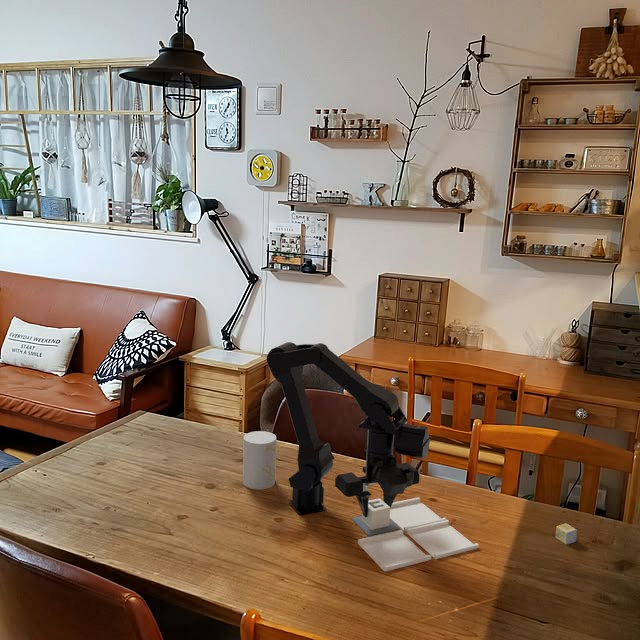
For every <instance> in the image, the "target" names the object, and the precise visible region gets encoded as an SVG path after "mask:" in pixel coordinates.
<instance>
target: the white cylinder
mask: <svg viewBox="0 0 640 640" xmlns="http://www.w3.org/2000/svg"><path fill="white" fill-rule="evenodd" d="M242 444H243V445H242V448H243V449H242V451H243V452H242V484H243V486H245V487H246V488H248V489H250V490H251V489H252V490H267V489H270V488H272V487H273V486H274V485H275V484H276V468H277V467H276V465H277V464H276V463H277V462H276V461H277V457H276V456H277V436H276V435H275V434H274V433H272V432H269V431H264V430H263V431H262V430H257V431H256V430H255V431H250V432H248V433H245V434H244V435H243V443H242Z"/></svg>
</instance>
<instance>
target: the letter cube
mask: <svg viewBox="0 0 640 640" xmlns="http://www.w3.org/2000/svg"><path fill="white" fill-rule="evenodd" d="M361 516H362V521H363V522H364V523H365V524H366V525H367V526H368V527H369V528H370V529H371V530H373V529H378V528H382V527H386V526H389V519H390V507H389V506H388V505H387V504H386V503H385V502H384V501H383V500H382V499H381V498H380V497H379V498H374V499H370V500H369V499H368V515H367V517H364V516H363V513H362V512H361ZM390 520H391V519H390Z"/></svg>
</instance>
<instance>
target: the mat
mask: <svg viewBox="0 0 640 640" xmlns="http://www.w3.org/2000/svg"><path fill="white" fill-rule="evenodd" d="M350 519H351V520H352V522H353V523H354V524H356V525H357V526H358V528H359V529H360V530H361V531H362V532H363V533H365V534H366V536H367V537H372V536H376V535H380V534H385V533H389V532H394V531H398V530H401V528H400V527H399V526H398V525H397V524H396V523H395V522H394V521H393V520H392V519H389V526H386V527H382V528H378V529H373V530H371V529H370V528H369V527H368V526H367V525H366V524H365V523H364V522H363V521H362V515H358V516H353V517H351V518H350Z"/></svg>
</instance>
